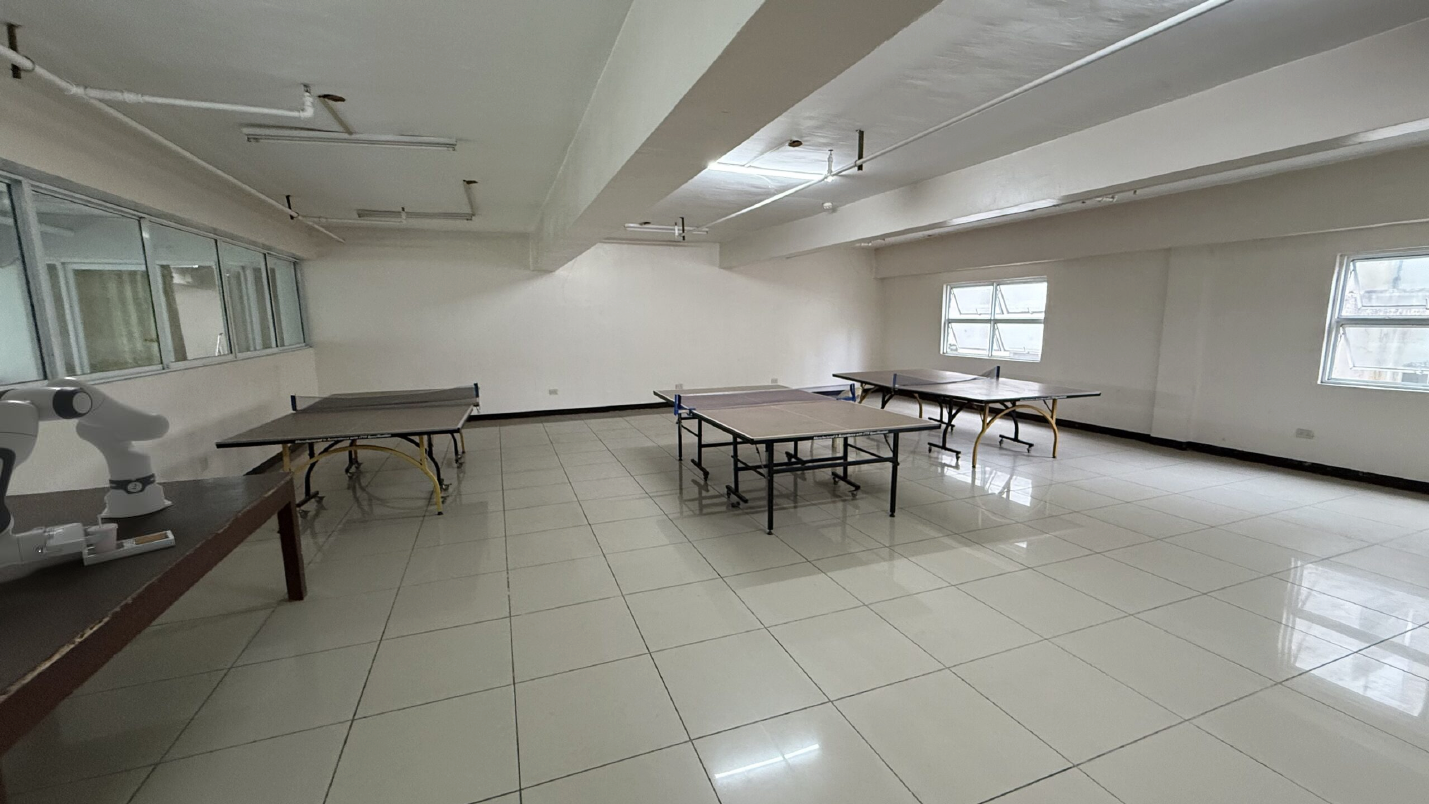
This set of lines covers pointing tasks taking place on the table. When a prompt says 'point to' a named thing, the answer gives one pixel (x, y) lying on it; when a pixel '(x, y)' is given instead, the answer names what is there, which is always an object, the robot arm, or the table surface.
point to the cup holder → (130, 547)
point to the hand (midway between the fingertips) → (107, 531)
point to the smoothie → (106, 543)
